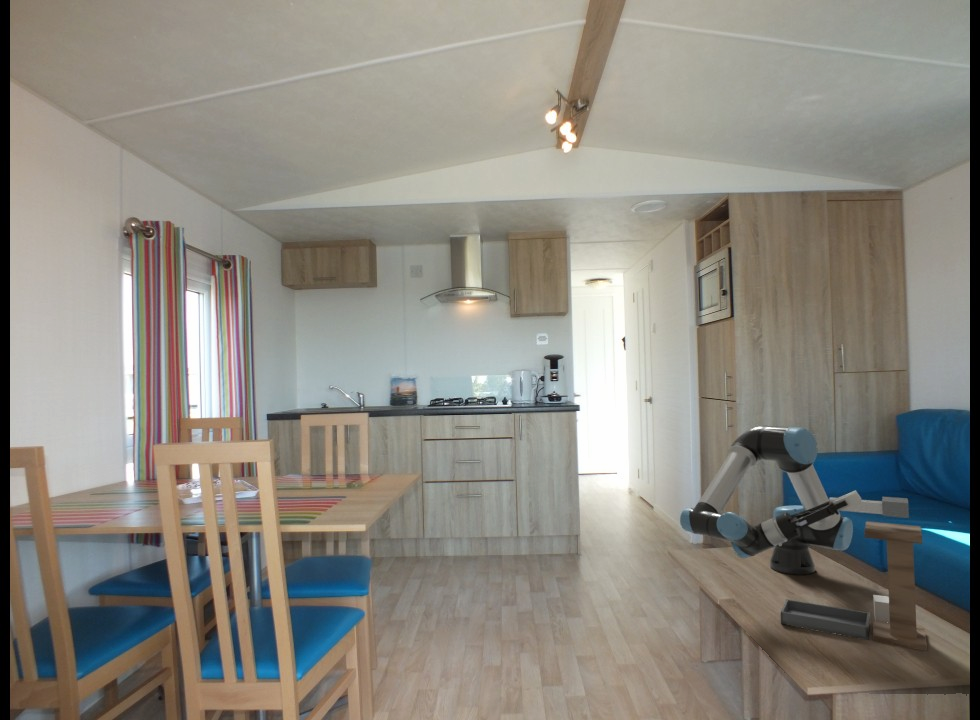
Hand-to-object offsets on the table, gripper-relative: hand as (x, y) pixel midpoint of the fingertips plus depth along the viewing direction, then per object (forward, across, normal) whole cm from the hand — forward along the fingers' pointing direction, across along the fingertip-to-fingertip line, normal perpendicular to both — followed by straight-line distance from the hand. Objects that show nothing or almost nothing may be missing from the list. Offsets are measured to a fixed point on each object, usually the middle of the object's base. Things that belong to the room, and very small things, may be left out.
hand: (858, 495), depth 175 cm
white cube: (-15, -13, -36) cm, 41 cm away
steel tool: (0, 0, -5) cm, 5 cm away
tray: (-27, 0, -28) cm, 39 cm away
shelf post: (-12, 0, -37) cm, 39 cm away
